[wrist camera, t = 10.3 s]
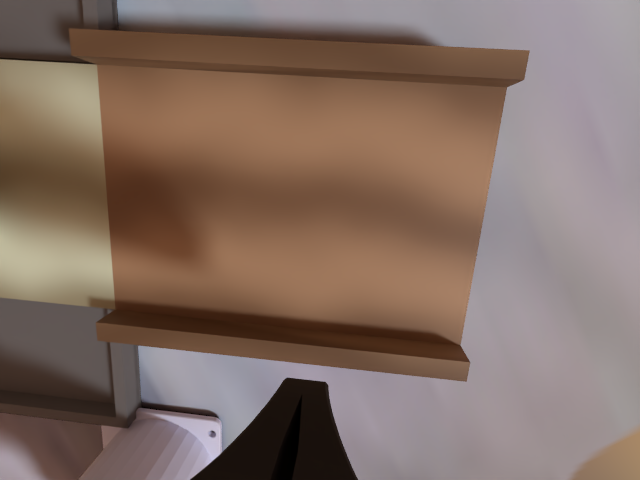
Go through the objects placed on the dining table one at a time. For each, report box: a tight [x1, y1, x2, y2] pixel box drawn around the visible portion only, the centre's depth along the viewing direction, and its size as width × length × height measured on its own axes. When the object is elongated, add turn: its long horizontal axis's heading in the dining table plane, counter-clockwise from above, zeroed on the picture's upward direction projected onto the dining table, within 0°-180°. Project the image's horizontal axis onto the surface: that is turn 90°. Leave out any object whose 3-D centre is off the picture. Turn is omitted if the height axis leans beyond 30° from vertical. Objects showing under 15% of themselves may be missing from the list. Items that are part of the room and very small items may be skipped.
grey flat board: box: [0, 0, 142, 429], centre depth 19 cm, size 29×12×2 cm, turn 176°
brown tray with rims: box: [0, 28, 529, 382], centre depth 17 cm, size 16×32×4 cm, turn 86°
